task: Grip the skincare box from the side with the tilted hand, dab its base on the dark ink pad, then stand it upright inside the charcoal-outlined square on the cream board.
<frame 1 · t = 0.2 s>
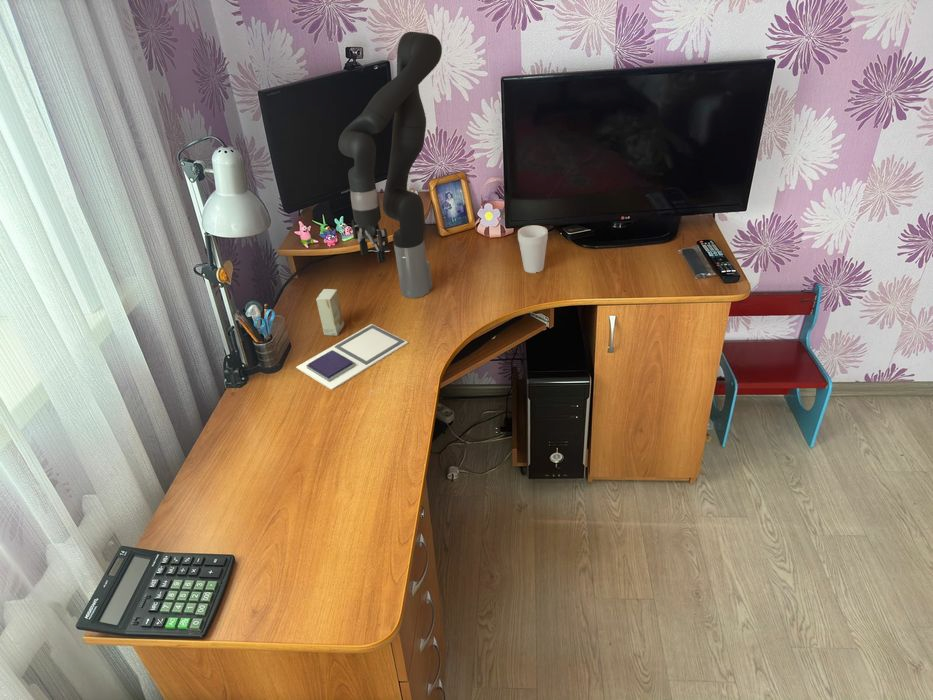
hand: (373, 258, 203), 18 cm above the table, tool pointing down, fingers open, 8 cm apart
skincare box: (334, 330, 206), on the table
foam cup: (533, 268, 227), on the table
marked board: (353, 355, 194), on the table
ink pad: (331, 368, 190), resting on marked board
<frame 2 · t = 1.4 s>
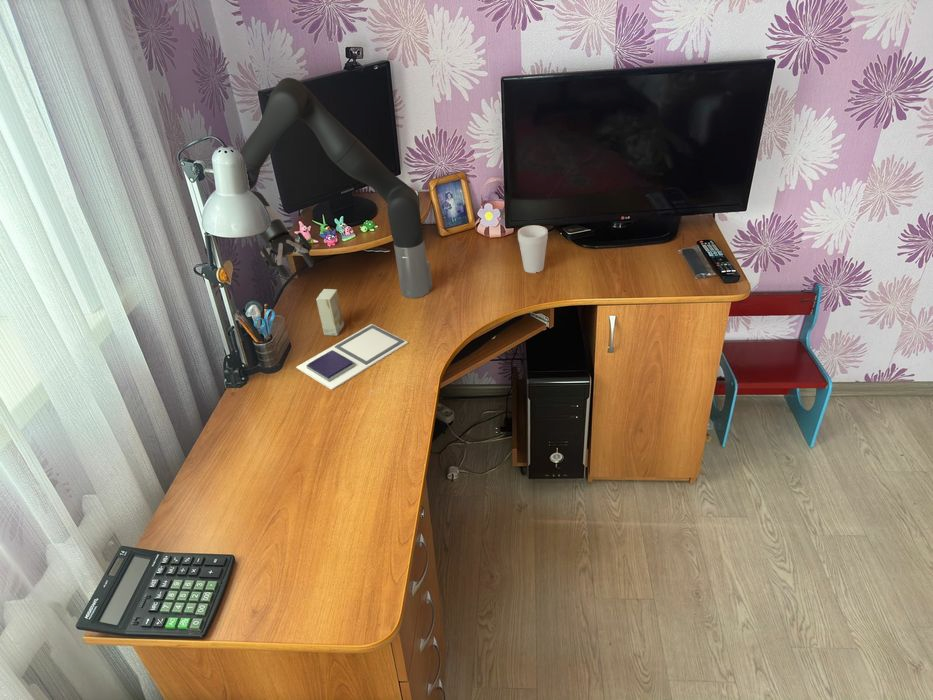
hand: (300, 271, 204), 16 cm above the table, tool tilted 45°, fingers open, 8 cm apart
nothing on the table moved.
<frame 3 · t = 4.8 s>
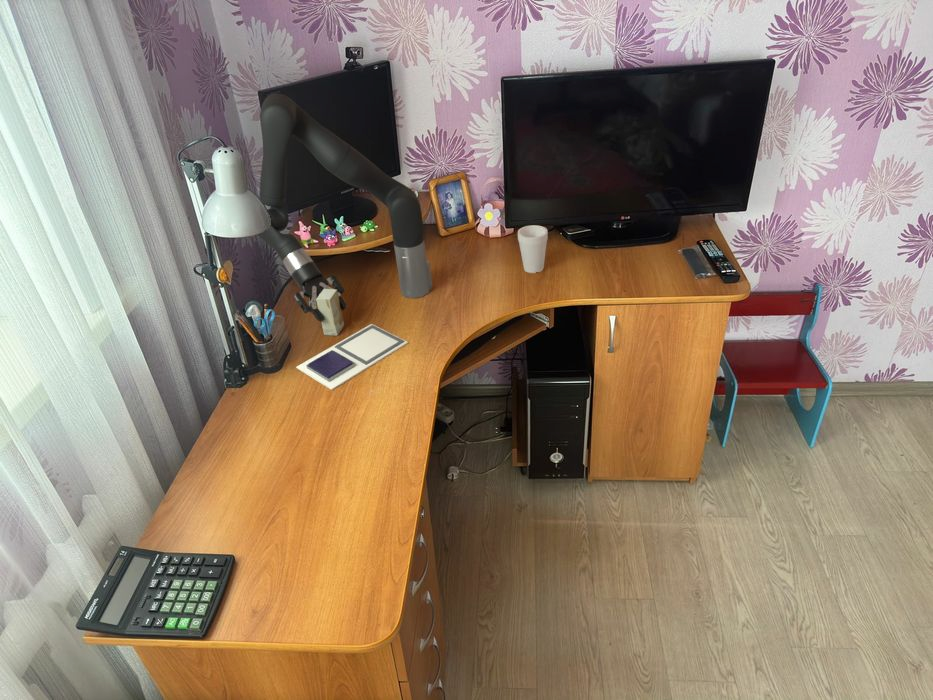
hand: (333, 314, 202), 6 cm above the table, tool tilted 45°, fingers closed on skincare box, 7 cm apart
skincare box: (334, 330, 206), on the table, touching gripper
everything else where it was.
when the fingers open (7 cm above the table, at t = 16.1 s): skincare box drops 1 cm, resting on marked board.
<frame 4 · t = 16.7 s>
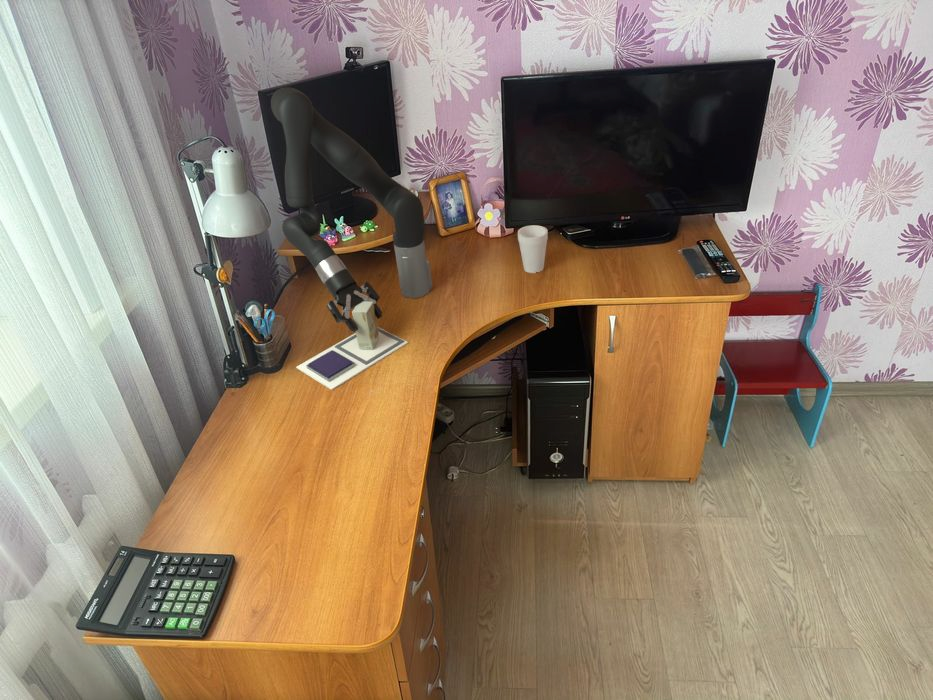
hand: (368, 324, 192), 8 cm above the table, tool tilted 45°, fingers open, 8 cm apart
skincare box: (369, 344, 198), resting on marked board
everything else where it was.
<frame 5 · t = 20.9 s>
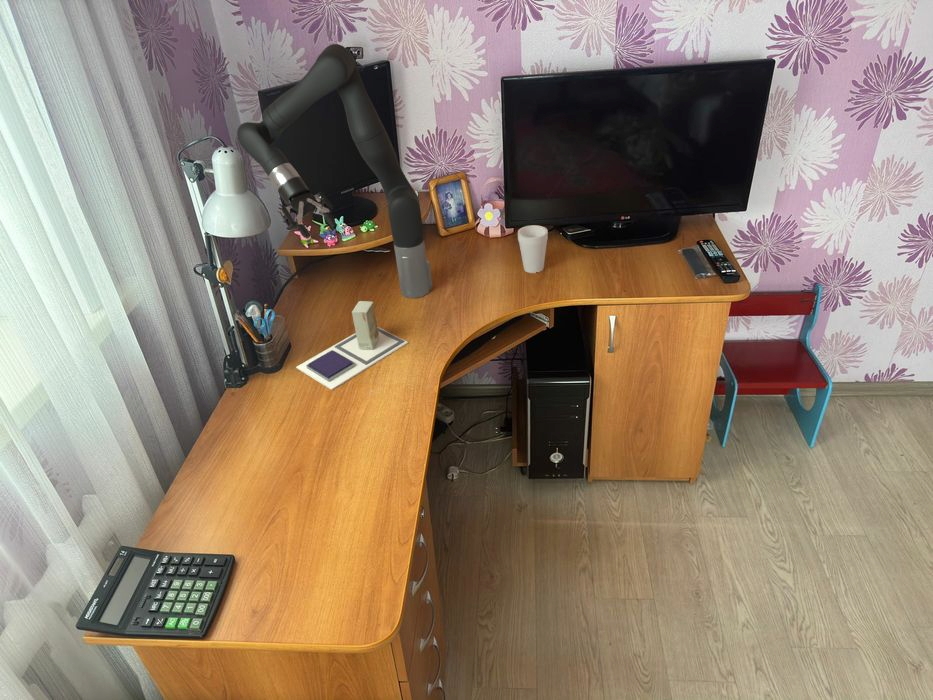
hand: (321, 231, 195), 29 cm above the table, tool tilted 45°, fingers open, 8 cm apart
nothing on the table moved.
at the end: skincare box inside the target area on the marked board (0.4 cm from its centre), point 0.2 cm above the marked board's base; skincare box tilted 0°; the gripper is holding nothing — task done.
